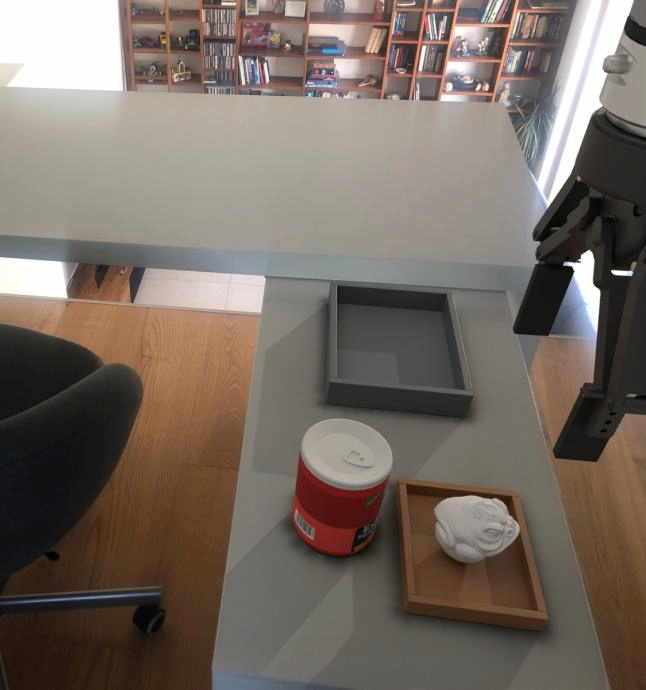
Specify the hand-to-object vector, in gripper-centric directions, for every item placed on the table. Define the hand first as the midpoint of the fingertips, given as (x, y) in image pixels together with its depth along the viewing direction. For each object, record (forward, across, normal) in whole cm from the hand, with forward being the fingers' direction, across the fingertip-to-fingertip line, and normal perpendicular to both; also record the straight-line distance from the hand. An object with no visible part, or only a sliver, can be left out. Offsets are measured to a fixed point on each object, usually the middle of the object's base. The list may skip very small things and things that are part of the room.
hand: (550, 388), depth 53 cm
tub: (+20, -26, -7) cm, 33 cm away
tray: (+20, +2, -2) cm, 20 cm away
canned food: (+20, 0, -14) cm, 25 cm away
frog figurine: (+20, +2, -2) cm, 20 cm away
